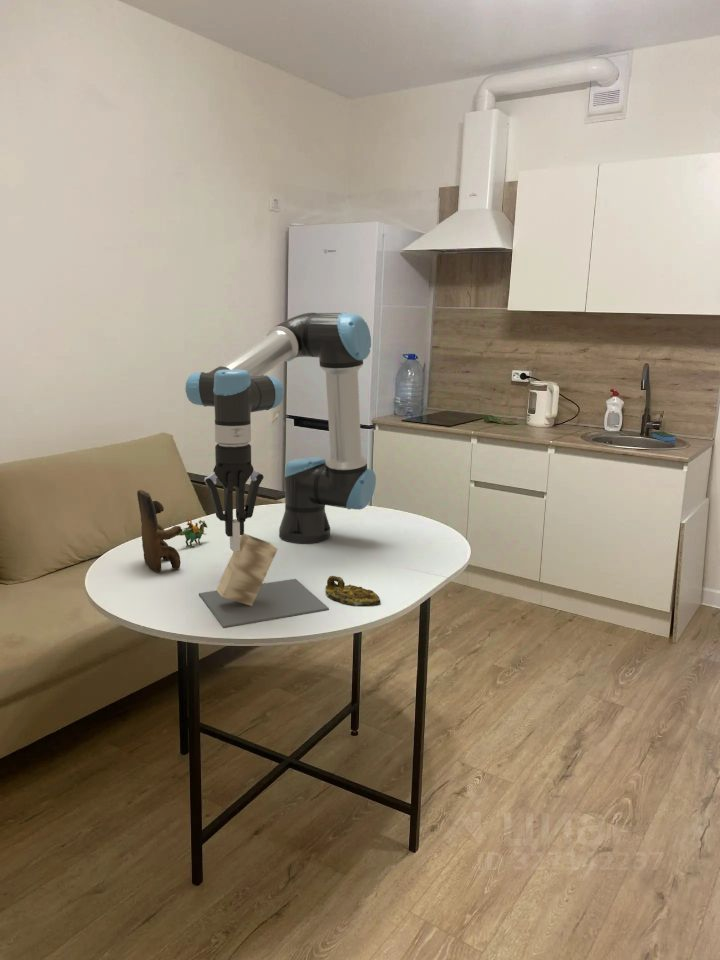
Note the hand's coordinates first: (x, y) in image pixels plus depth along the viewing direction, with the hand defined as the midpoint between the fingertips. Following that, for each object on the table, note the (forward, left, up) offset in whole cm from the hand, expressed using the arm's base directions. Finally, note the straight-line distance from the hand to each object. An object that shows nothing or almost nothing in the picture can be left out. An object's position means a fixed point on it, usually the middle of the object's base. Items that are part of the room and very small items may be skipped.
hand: (235, 549), depth 159 cm
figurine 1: (+10, -33, -14) cm, 37 cm away
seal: (-26, +6, -14) cm, 30 cm away
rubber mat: (-6, 0, -13) cm, 15 cm away
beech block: (0, 0, -11) cm, 11 cm away
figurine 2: (-1, -46, -14) cm, 48 cm away
